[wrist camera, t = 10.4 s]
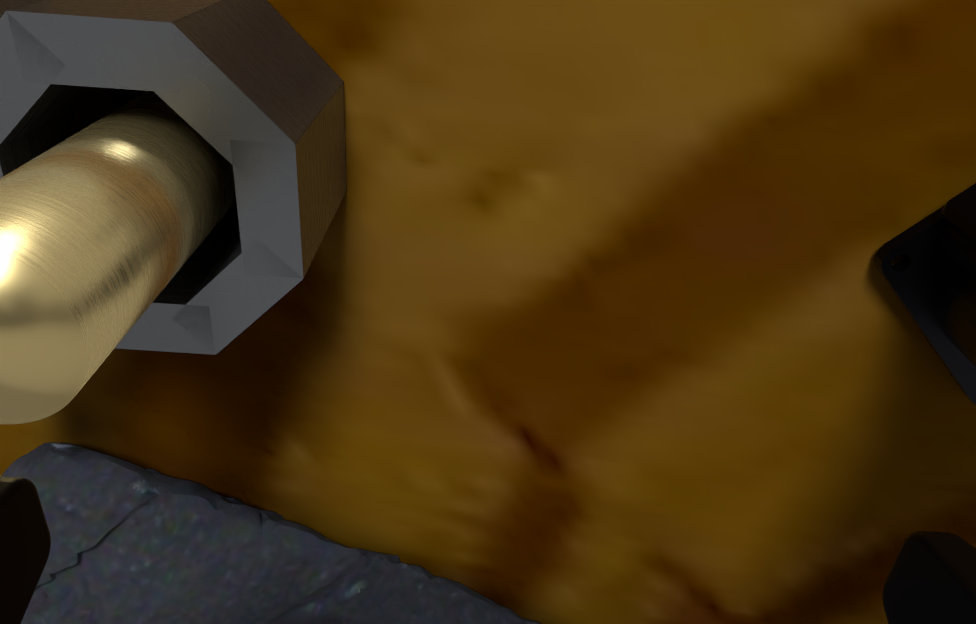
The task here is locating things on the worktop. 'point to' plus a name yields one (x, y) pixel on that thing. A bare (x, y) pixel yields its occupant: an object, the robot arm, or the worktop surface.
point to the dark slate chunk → (210, 558)
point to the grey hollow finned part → (213, 114)
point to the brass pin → (97, 245)
